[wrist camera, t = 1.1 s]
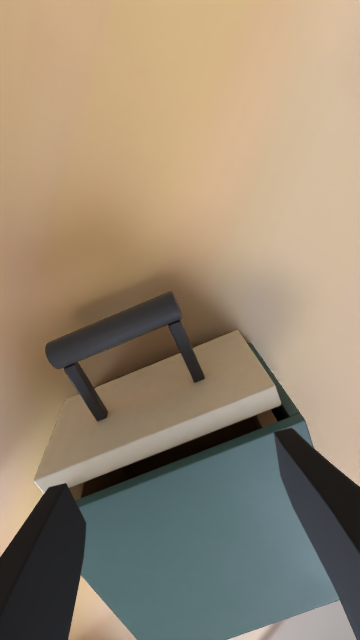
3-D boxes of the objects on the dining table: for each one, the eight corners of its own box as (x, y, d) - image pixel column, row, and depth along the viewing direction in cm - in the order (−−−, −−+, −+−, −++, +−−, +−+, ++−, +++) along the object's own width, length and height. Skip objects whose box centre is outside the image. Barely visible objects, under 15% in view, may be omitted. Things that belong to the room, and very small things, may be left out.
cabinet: (72, 415, 22) (35, 524, 15) (251, 342, 21) (305, 419, 14) (155, 538, 27) (158, 664, 20) (301, 484, 26) (359, 593, 19)
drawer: (22, 335, 19) (-35, 399, 13) (211, 255, 18) (241, 284, 12) (149, 526, 25) (150, 625, 20) (290, 473, 25) (334, 559, 19)
